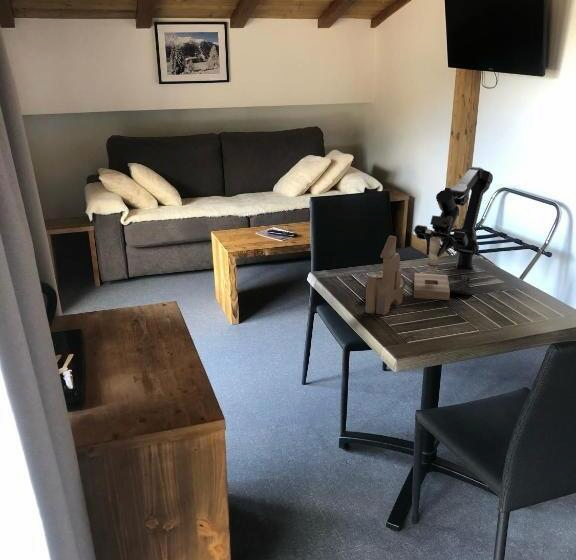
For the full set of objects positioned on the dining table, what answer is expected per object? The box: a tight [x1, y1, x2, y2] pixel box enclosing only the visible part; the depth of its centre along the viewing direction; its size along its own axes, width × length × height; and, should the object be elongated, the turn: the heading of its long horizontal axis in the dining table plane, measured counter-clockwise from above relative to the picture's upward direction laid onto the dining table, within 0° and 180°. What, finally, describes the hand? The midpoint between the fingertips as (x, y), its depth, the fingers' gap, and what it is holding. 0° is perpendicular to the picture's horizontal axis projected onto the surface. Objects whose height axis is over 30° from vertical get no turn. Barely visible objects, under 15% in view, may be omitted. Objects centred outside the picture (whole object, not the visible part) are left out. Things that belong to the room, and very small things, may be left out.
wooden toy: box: [365, 235, 404, 316], centre depth 189 cm, size 16×7×25 cm, turn 144°
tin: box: [364, 273, 406, 300], centre depth 201 cm, size 15×3×8 cm, turn 111°
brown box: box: [413, 272, 451, 301], centre depth 208 cm, size 18×12×3 cm, turn 168°
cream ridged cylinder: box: [427, 237, 442, 274], centre depth 204 cm, size 4×4×12 cm
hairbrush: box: [449, 274, 474, 296], centre depth 211 cm, size 8×4×25 cm
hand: (432, 255), depth 203 cm, fingers closed on cream ridged cylinder, 4 cm apart
